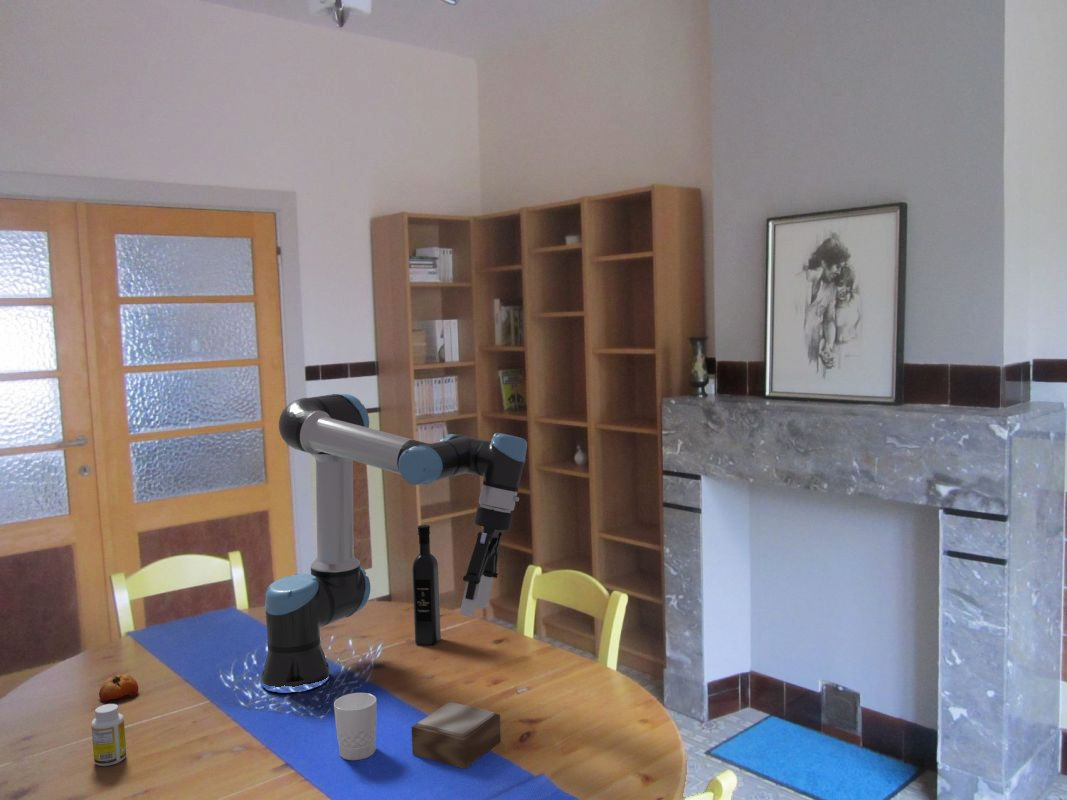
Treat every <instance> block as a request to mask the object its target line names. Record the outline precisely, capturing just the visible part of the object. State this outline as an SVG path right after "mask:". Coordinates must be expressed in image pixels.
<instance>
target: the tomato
mask: <svg viewBox="0 0 1067 800" xmlns="http://www.w3.org/2000/svg"><path fill="white" fill-rule="evenodd" d="M126 695H127V696H128V695H129V696H130V698H129V699H132V698H135V696H138V695H139V683H138V682H137V680H136V679H135V677H132V676H131V675H130V674H117V675H116V674H114V675H113V676H111V677H109V678H107V679H106V680H105V681H104V682H103V683H102V685H101V686H100V689H99V693H98V696H99V699H100V701H101V703H103V702H107V701H110V700H112V699H113V700H117V699H120V698H122V697H123V696H126Z"/></svg>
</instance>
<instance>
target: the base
mask: <svg viewBox="0 0 1067 800" xmlns="http://www.w3.org/2000/svg"><path fill="white" fill-rule="evenodd" d="M501 735H502V734H501V714H500V713H495V712H494V711H491V710H486V709H483V708H478V707H473V706H468V705H465V704H460V703H456V702H452V701H449V702H448V703H446V704H444V705H442V706H441V707H439V708H438V709H436V710H435V711H433V712H432V713H430V714H429V715H427V716H426V717H424V718H422V719H421V720H419V721H418V722H417V723H415V724H414V725H412V726H411V742H412V743H411V747H412V748H411V749H412V755H414V756H416V757H419V758H420V757H421V758H424V759H427V760H431V761H435V762H438V763H442V764H445V765H449V766H453V767H457V768H460V769H465V770H466V769H467V768H468V767H470V766H471V765H472V764H474V763H475V762H477V760H479V759H480V758H482V757H483V756H485V754H487V753H488V752H489V751H490V750H492V749H493V748H494V747H496V746H497V745H498V744H499V743H501V742H502V740H501V739H502V738H501V737H502V736H501Z"/></svg>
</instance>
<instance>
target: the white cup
mask: <svg viewBox="0 0 1067 800" xmlns="http://www.w3.org/2000/svg"><path fill="white" fill-rule="evenodd" d="M333 709H334V719H335V728H336V736H337V739H336V740H337V742H338V749H339V757H341V758H342V759H343V760H348V761H359V760H365V759H368V758H369V757H371V756H373V755H374V754H375V752H376V749H377V747H376V743H377V742H376V738H377V697H376V696H375V695H374V694H373V693H372V694H371V693H366V692H355V693H354V692H353V693H348V694H344V695H341V696H340V697H338V698H337V699H335V700H334V702H333Z"/></svg>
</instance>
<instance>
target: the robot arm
mask: <svg viewBox="0 0 1067 800" xmlns="http://www.w3.org/2000/svg"><path fill="white" fill-rule="evenodd" d="M278 431H279V434H280V436H281V438H282V440H283V442H284V443H285V444H287V445H288V446H289V447H290V448H293V449H295V450H298V451H301V452H304V453H307V454H310V455H311V456H312V457H313V458H314V459H315V482H316V483H315V487H316V489H315V491H316V492H315V493H316V495H315V496H316V499H315V500H316V501H315V502H316V504H315V505H316V558H315V559H314V561H312V562H311V564H310V573H296V574H293V575H287V576H283V577H282V578H279V579H277V580H275V581H273V582H271V584H269V585H268V587H267V589H266V590H265V603H264V609H265V620H266V621H265V622H266V633H267V634H266V635H267V636H266V637H267V654H266V659H265V661H264V667H263V670H262V671H261V683H262V682H263V683H264V684H266V685H268V686H275V687H281V686H284V685H285V686H292V687H295V686H299V685H303V684H311V683H315V682H319V681H322V680H324V679H326V678H327V677H328V676H329V674H330V675H331V669H330V664H329V663H328V662H327V658H326V656H325V652H324V650H323V648H322V645H321V628H323V627H325V626H327V625H330V624H333V623H334V622H337V621H340V620H343V619H345V618H349V617H351V616H353V615H354V614H355V613H357V612H360V611H361V610H362V609H363V608H364V607H365V606H366V605H367V603H368V601H369V598H370V595H371V582H370V578H369V576H368V575H367V571H366V570H365V569H364V568H363V567H361V562H360V560H359V559H358V558H356V557H355V555H354V554H355V552H354V550H355V548H354V546H355V543H354V537H355V534H354V532H355V531H354V462H355V463H360V464H363V465H366V466H370V467H374V468H377V469H380V470H384V471H388V472H391V473H394V474H398V475H400V476H401V477H402V478H403V479H404V480H405V481H406V483H408V484H410V485H415V486H417V485H419V486H420V485H428V484H432V483H433V482H437V481H440V480H445V479H448V478H452V477H455V476H456V477H457V476H460V475H463V474H471V475H475V476H479V477H483V482H482V484H481V489H480V493H479V499H478V504H479V505H480V506H478V507H477V508H476V513H475V516H474V524H475V525H477V526H479V527H483V529H482V531H478V533H477V537H476V541H475V546H474V548H473V551H472V554H471V557H470V561H469V563H468V564H469V565H468V567H467V570H466V574H465V575H464V576H463V578H462V581H464V582H466V583H465V587H464V591H463V597H462V601H461V606H460V610H459V615H462V616H466V617H469V618H474V616H475V611H476V607H477V608H481V609H484V610H485V609H487V608H488V604H489V601H490V596H491V591H492V586H493V583H494V582H493V581H494V579H497V578H498V576H499V573H498V563H499V555H500V554H499V553H500V547H501V541H502V540H501V539H502V536H503V532H508V531H510V530H511V528H512V527H511V526H512V522H513V516H514V515H513V513H511V511H512V512H513V511H514V509H515V507H516V502H519V501H520V497H519V496H517V495H518V491H519V487H520V482H521V479H522V478H521V477H522V474H523V471H524V470H523V469H524V465H525V463H526V455H527V449H528V442H527V440H526V439H525V438H522V437H519V436H515V435H510V434H506V433H500V432H495V433H494V434H493V436H492V438H491V440H487V439H486V440H484V439H480V438H475V437H472V436H471V437H470V436H467V435H464V434H456V433H455V434H453V433H448V434H446V435H445V436H444V437H443V438H441V439H440V440H439V441H438V442H437V441H436V442H432V443H428V442H424V441H419V440H416V439H412V438H408V437H405V436H402V435H401V436H400V435H397V434H394V433H390V432H386V431H381V430H378V429H375V428H374V429H373V428H372V427H371V428H370V416H369V413H368V410H367V408H366V406H365V405H364V404H363V403H362V401H361V400H360V399H359V398H358V397H356V396H354V395H352V394H347V393H332V394H326V395H325V394H324V395H319V396H313V397H302V398H298V399H296V400H293V401H291V402H290V403H289V404H287V405H286V406H285V407H284V409H283V410H282V412H281V413H280V416H279V419H278Z"/></svg>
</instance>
